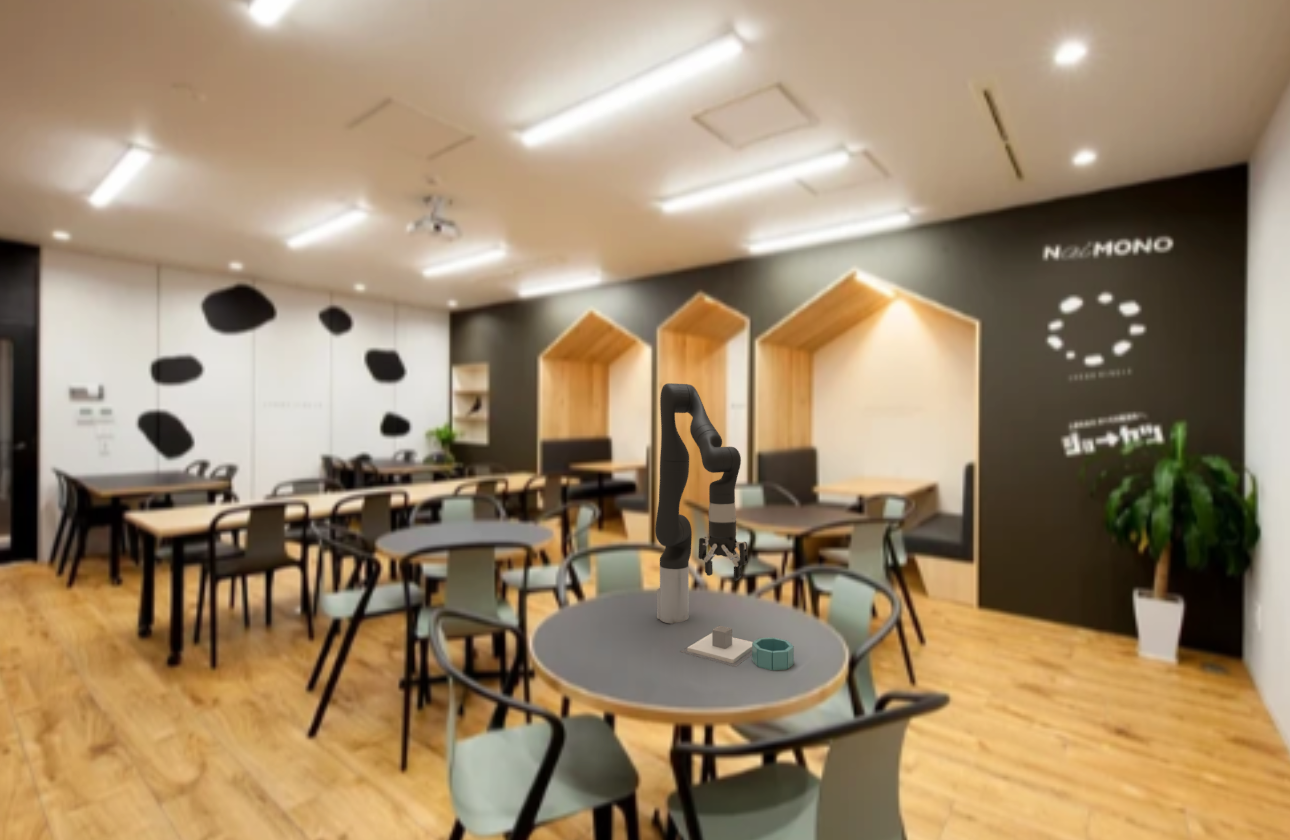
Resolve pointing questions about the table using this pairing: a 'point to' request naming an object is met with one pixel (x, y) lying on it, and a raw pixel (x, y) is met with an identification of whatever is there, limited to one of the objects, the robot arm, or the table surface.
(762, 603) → the table surface
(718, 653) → the lid
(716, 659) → the mat
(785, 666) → the bowl
